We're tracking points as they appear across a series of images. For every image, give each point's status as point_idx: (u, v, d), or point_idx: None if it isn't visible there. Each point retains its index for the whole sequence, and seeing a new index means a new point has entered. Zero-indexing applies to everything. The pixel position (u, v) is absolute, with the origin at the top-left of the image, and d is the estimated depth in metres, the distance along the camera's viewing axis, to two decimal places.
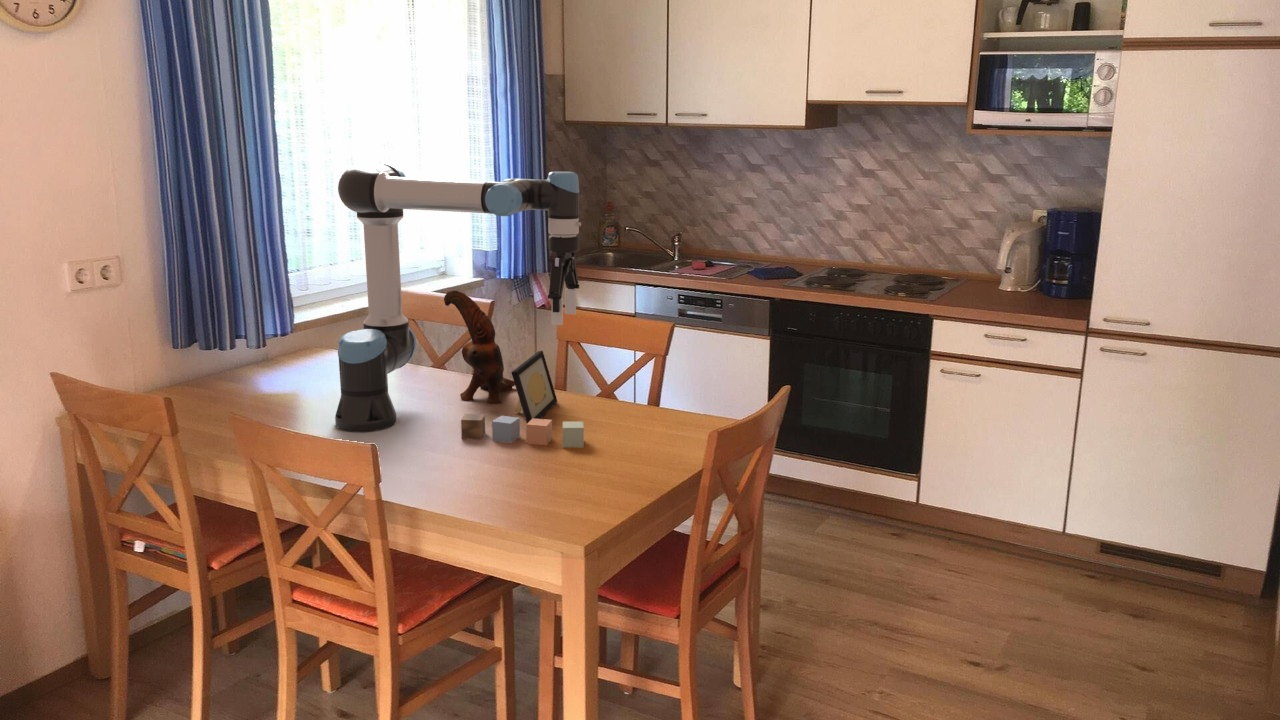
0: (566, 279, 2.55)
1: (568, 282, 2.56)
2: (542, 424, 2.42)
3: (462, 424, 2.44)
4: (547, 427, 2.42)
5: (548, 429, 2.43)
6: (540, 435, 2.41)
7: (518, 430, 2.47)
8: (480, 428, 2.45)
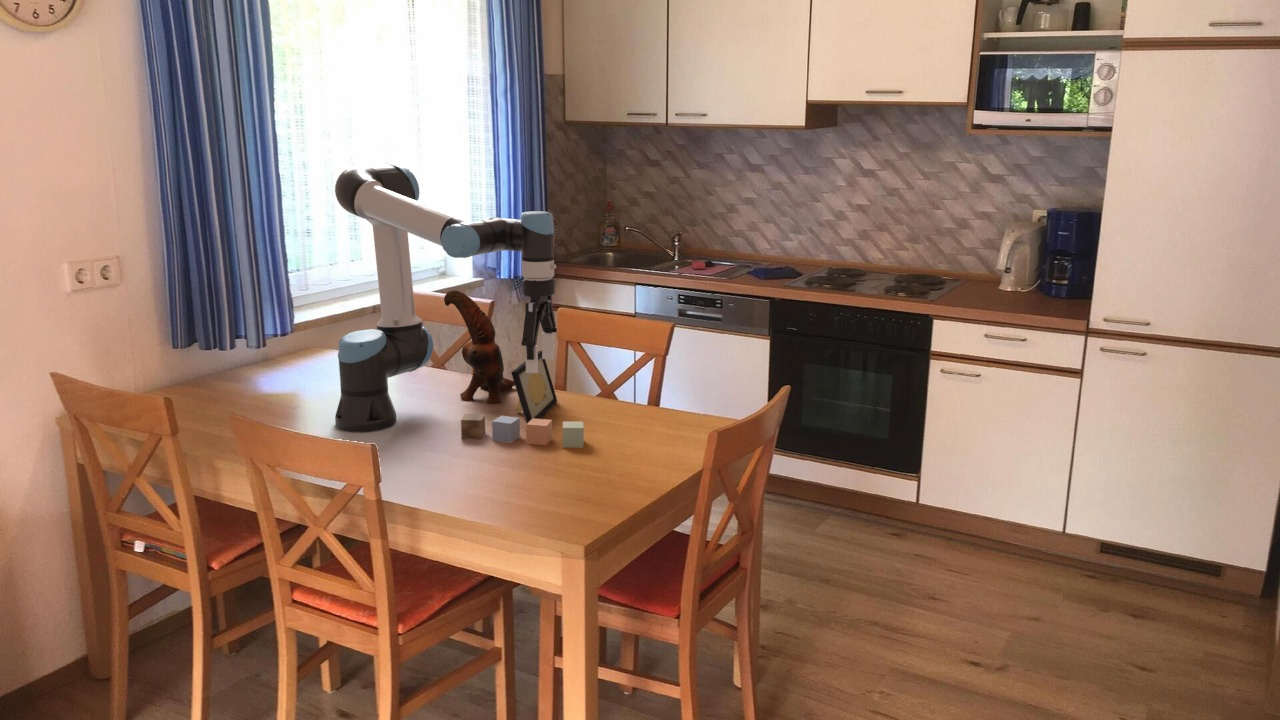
0: (542, 323, 2.43)
1: (545, 326, 2.43)
2: (542, 424, 2.42)
3: (462, 424, 2.44)
4: (547, 427, 2.42)
5: (548, 429, 2.43)
6: (540, 435, 2.41)
7: (518, 430, 2.47)
8: (480, 428, 2.45)
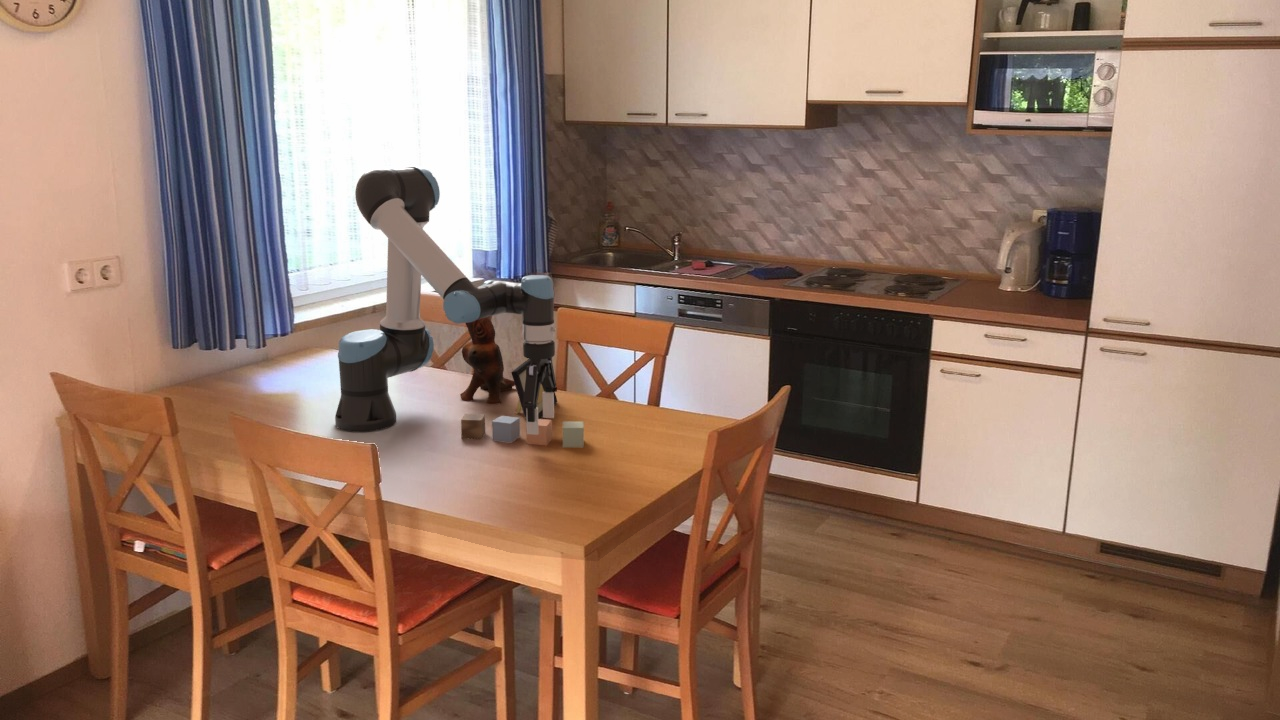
0: (543, 383, 2.46)
1: (545, 386, 2.47)
2: (542, 424, 2.42)
3: (462, 424, 2.44)
4: (547, 427, 2.42)
5: (548, 429, 2.43)
6: (540, 435, 2.42)
7: (518, 430, 2.47)
8: (480, 428, 2.45)
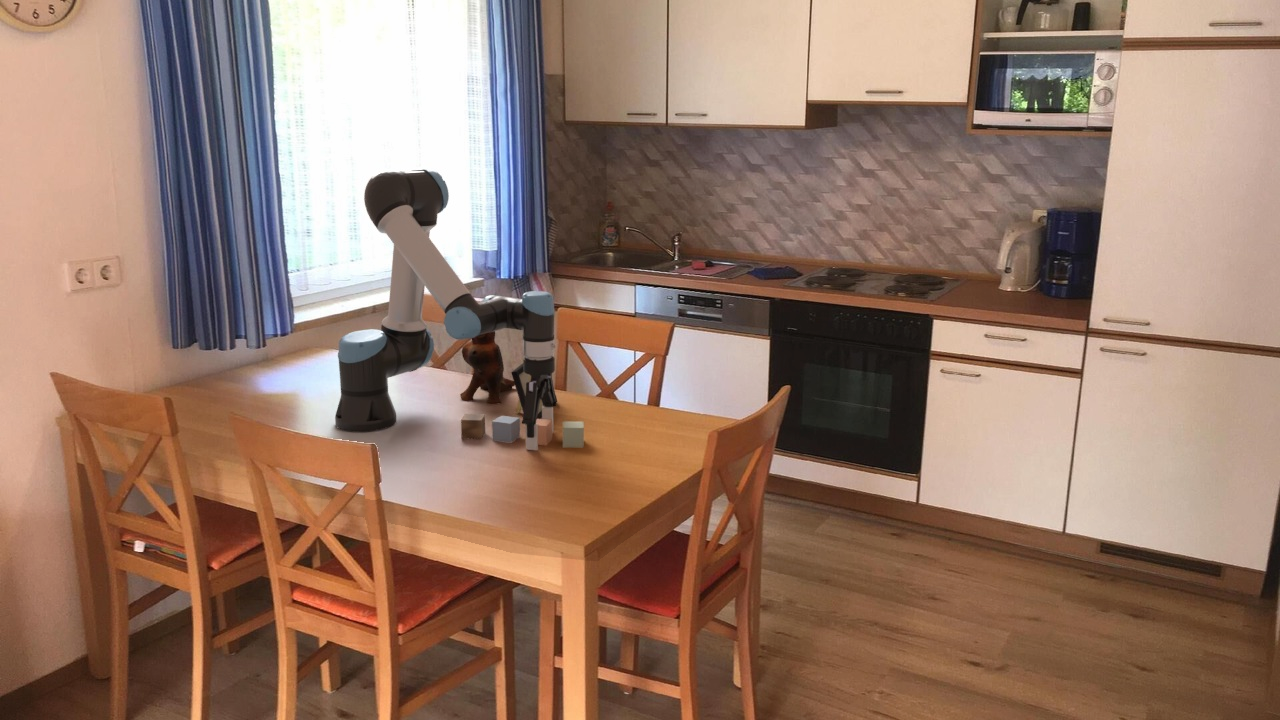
0: (543, 398, 2.47)
1: (545, 400, 2.48)
2: (542, 424, 2.42)
3: (462, 424, 2.44)
4: (547, 427, 2.42)
5: (548, 429, 2.43)
6: (540, 435, 2.41)
7: (518, 430, 2.47)
8: (480, 428, 2.45)
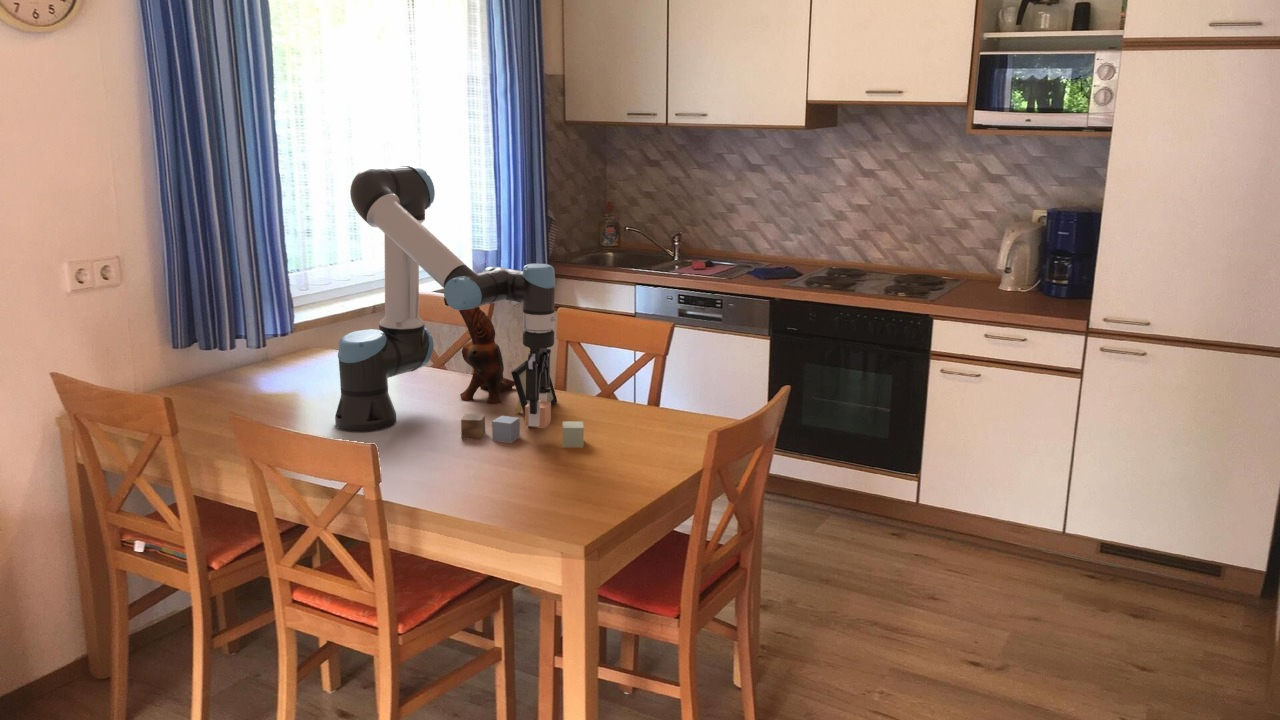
0: None
1: (539, 383, 2.44)
2: (541, 406, 2.41)
3: (462, 424, 2.44)
4: (546, 409, 2.41)
5: (547, 411, 2.42)
6: None
7: (518, 430, 2.47)
8: (480, 428, 2.45)
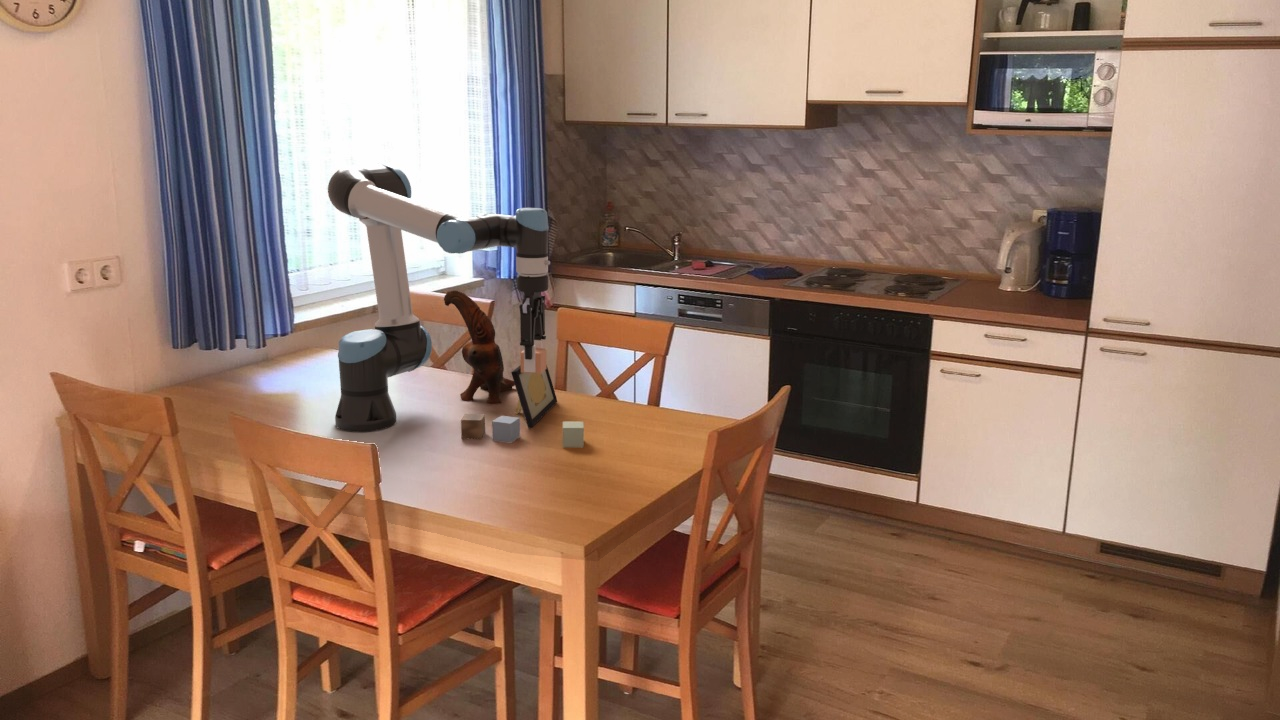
0: None
1: (534, 330, 2.43)
2: (536, 352, 2.40)
3: (462, 424, 2.44)
4: (541, 355, 2.40)
5: (542, 357, 2.41)
6: None
7: (518, 430, 2.47)
8: (480, 428, 2.45)
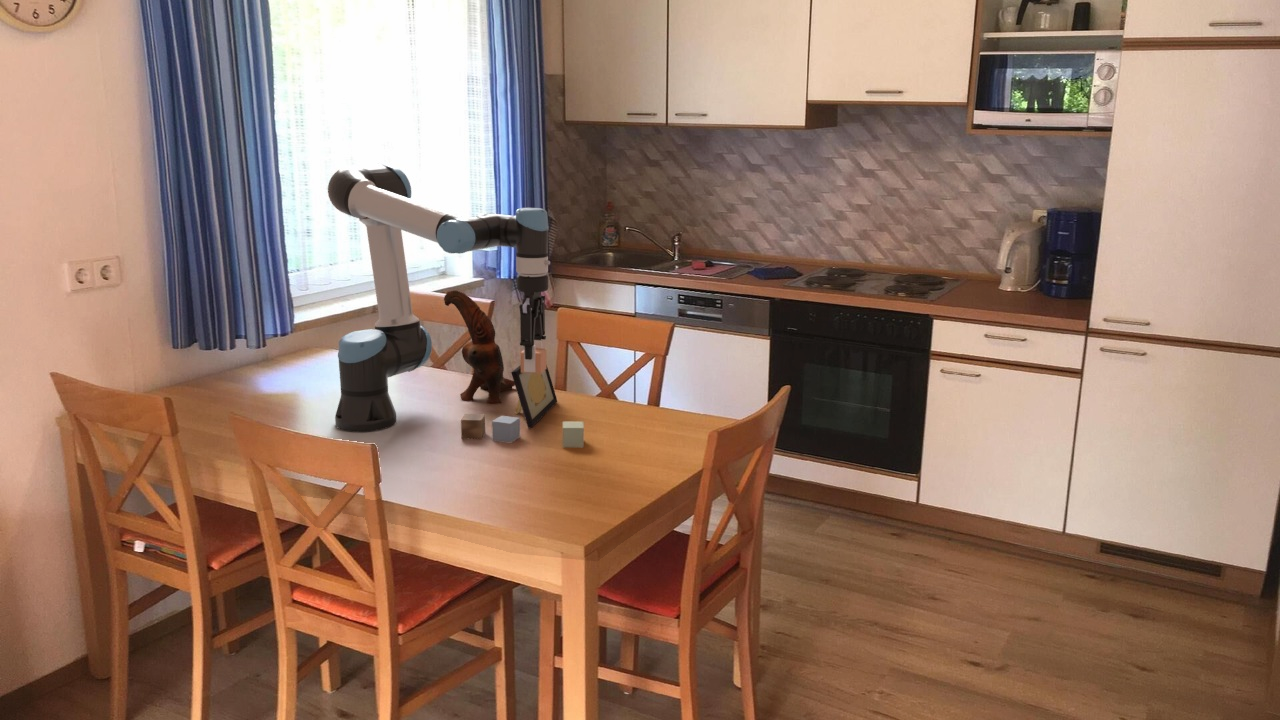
0: None
1: (534, 330, 2.43)
2: (536, 352, 2.40)
3: (462, 424, 2.44)
4: (541, 355, 2.40)
5: (542, 357, 2.41)
6: None
7: (518, 430, 2.47)
8: (480, 428, 2.45)
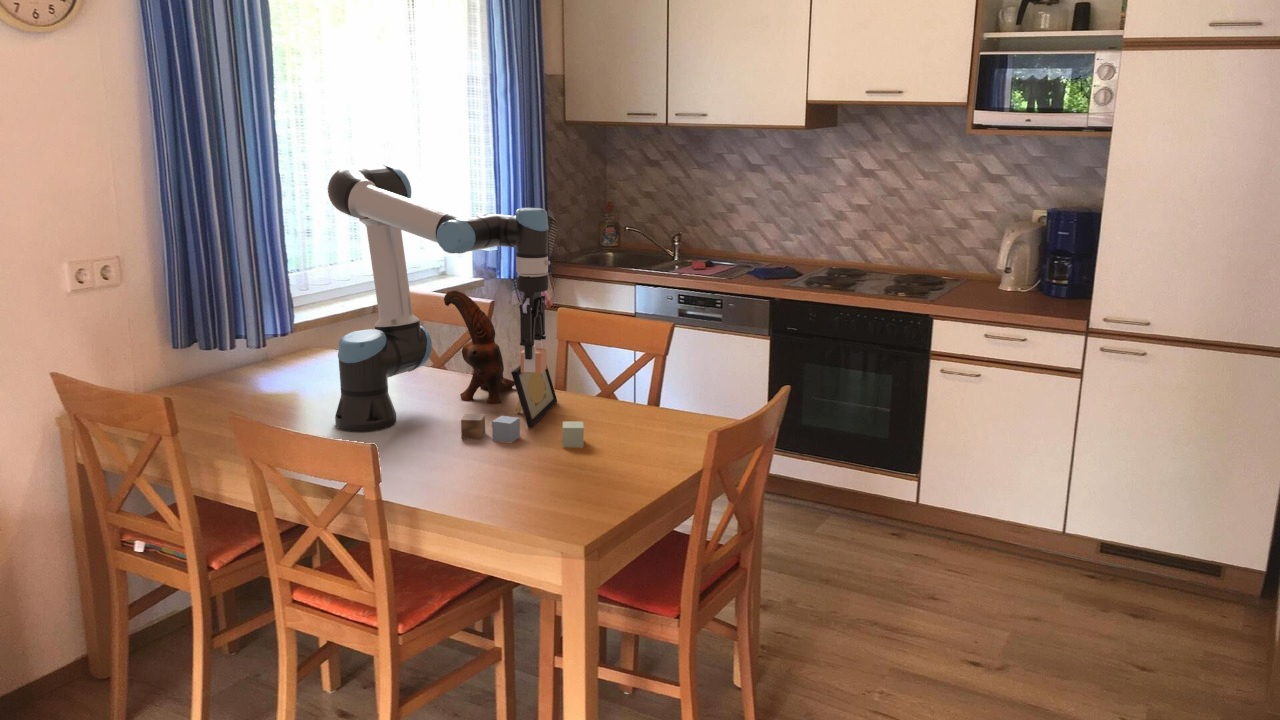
0: None
1: (534, 330, 2.43)
2: (536, 352, 2.40)
3: (462, 424, 2.44)
4: (541, 355, 2.40)
5: (542, 357, 2.41)
6: None
7: (518, 430, 2.47)
8: (480, 428, 2.45)
